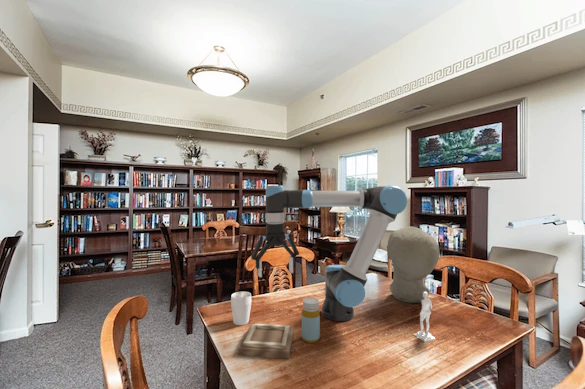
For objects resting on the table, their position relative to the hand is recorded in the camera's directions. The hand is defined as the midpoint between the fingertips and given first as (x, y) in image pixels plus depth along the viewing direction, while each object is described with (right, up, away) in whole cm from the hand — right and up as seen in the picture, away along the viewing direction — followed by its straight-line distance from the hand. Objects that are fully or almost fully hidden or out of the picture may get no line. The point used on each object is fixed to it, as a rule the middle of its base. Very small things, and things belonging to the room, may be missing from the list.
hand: (275, 274), depth 115 cm
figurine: (+60, -24, -3) cm, 65 cm away
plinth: (-2, -24, -9) cm, 25 cm away
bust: (+70, -24, +31) cm, 80 cm away
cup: (-16, -24, +8) cm, 30 cm away
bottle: (+14, -24, -6) cm, 28 cm away
